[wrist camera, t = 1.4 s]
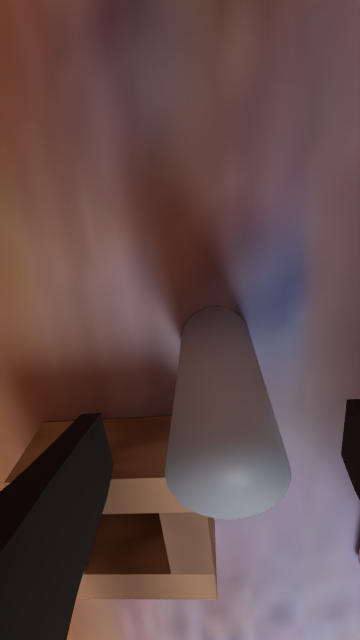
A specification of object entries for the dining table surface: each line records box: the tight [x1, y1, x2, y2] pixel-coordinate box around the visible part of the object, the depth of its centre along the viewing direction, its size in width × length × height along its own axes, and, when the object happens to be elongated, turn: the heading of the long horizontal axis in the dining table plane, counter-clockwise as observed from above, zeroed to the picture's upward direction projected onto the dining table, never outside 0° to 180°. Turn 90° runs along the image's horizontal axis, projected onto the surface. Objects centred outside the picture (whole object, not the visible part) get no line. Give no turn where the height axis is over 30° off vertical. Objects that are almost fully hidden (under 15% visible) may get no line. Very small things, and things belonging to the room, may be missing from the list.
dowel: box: [165, 307, 291, 519], centre depth 12 cm, size 3×3×8 cm
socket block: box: [4, 416, 217, 600], centre depth 18 cm, size 9×9×4 cm
